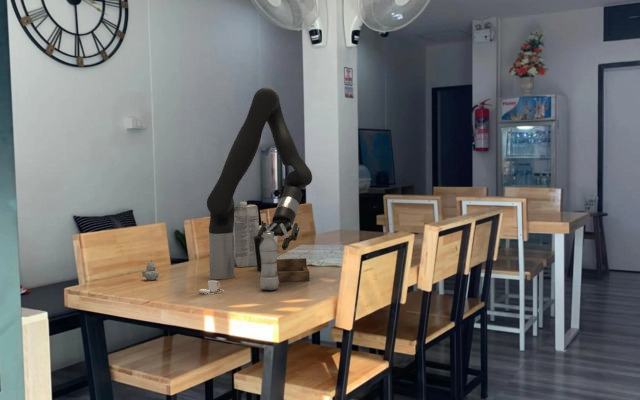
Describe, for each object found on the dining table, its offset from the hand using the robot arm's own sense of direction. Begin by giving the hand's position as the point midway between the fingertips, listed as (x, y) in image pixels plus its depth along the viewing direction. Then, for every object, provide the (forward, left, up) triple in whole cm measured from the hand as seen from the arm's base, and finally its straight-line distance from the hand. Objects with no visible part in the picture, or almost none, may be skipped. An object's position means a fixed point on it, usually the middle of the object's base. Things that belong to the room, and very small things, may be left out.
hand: (272, 248), depth 221 cm
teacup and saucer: (-24, 0, -15) cm, 28 cm away
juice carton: (-9, +50, -14) cm, 53 cm away
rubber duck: (-45, +25, -14) cm, 54 cm away
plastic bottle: (-1, -2, -14) cm, 14 cm away
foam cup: (+2, +83, -14) cm, 84 cm away
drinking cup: (-2, +37, -14) cm, 40 cm away
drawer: (+7, +17, -14) cm, 23 cm away
